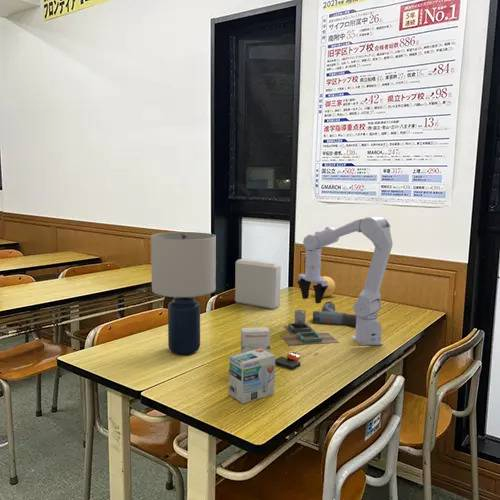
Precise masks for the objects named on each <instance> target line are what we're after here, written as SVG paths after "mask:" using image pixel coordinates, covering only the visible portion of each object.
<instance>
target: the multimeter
mask: <svg viewBox="0 0 500 500" xmlns="http://www.w3.org/2000/svg"><path fill="white" fill-rule="evenodd" d="M318 353H319V352H316V353H315V354H313V355H312V356H316V355H318ZM300 357H301V356H300V353H298V352H294V351H292V352H291V353H287V356H286V357H284V356H279V357H277V358H275V366H277V367H282V368H283V369H287V370H291V371H294V370H295V369H297V368H299V367H301V363H302V362H300V361H298V360H299V359H300Z"/></svg>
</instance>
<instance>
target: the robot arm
mask: <svg viewBox="0 0 500 500" xmlns="http://www.w3.org/2000/svg"><path fill="white" fill-rule="evenodd" d="M356 232H357V233H361V234H362V235H363V236H365V237H366V238H367V239H368V240H370V241H371V242H372V244H373V245H374V250H373V254H372V257H371V260H370V265H369V269H368V272H367V276H366V279H365V283H364V287H363V289H362V291H361V292H360V293H359V295H358V298H357V300H356V301H355V302H354V303H353V305H352V307H353V312H354V315H356V326H355V334H354V335H350V337H351V338H352V339H354V340H355V341H356V342H357V343H359V344H360V345H361V346H363V347H367V346H369V345H372V346H379V345H380V346H381V345H383V344H384V343H383V341H381V340H382V339H381V338H382V326H381V323H380V322H379V320H378V312H380V309H381V308H382V303H381V298H382V295H381V292H380V290H381V287H382V283H383V280H384V277H385V272H386V270H387V266H388V262H389V259H390V256H391V251H392V248H393V238H392V234H391V224H390V222H388V220H387V219H386V218H385V217H384V216H382V215H378V216H373V217H369V216H368V217H365V218H359V219H355V220H353V221H351V222H349V223H346V224H345V225H342V226H339V227H337V228H336V227H334V226H326V227H325V229H323V230H321V231H315V232H314V234H307V235H306V236H305V237H304V239H303V241H302V242H303V243H302V244H303V247H304V248H305V268H304V269H305V270H304V271H305V272H304V273H298V281H297V284H298V287H299V288H300V289H299V290H300V293H301V296H302V300H307V299H309V294H310V288H311V284H312V283H313V284H314V285H312V287H313V291H314V298H315V299H314V300H315V301H314V302H315V304H317V305H318V304H321V303H322V301H323V298H324V297H323V295H324V292H325V291H326V289H327V288H328V285H327V280H324V279H322V277H323V276H321V264H322V262H321V261H322V249H323V248H324V247H327V246H329V245H332V244H334V243H337V242H338V241H339V239H340V238H341V237H343V236H347V235H350V234H352V233H356ZM315 283H316V284H317V285H315Z"/></svg>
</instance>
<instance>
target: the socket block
mask: <svg viewBox="0 0 500 500" xmlns="http://www.w3.org/2000/svg"><path fill="white" fill-rule="evenodd" d="M282 327H283V328H284V329H285V330H286V331H287V332H288V333H289V335H297V333H298V332H316V330H315V329H313V328H312V326H310V325H309V324H308V323H307V322H305V328H294V322H291V323H290V322H289V323H288V324H287V325H283V326H282Z"/></svg>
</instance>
